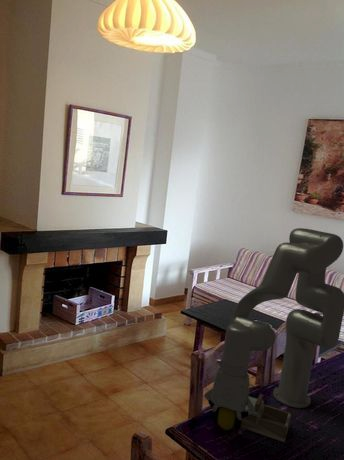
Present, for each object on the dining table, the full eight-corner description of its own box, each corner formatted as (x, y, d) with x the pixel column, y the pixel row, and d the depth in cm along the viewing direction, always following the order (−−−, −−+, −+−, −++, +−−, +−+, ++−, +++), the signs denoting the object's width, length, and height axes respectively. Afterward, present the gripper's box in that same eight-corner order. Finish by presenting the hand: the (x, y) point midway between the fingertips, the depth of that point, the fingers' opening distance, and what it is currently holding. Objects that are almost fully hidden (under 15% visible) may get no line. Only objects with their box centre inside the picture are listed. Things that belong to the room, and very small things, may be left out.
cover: (237, 395, 133) (238, 385, 132) (263, 403, 129) (264, 393, 129) (230, 407, 125) (231, 397, 124) (257, 416, 121) (259, 406, 121)
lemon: (234, 437, 118) (238, 411, 117) (215, 433, 119) (218, 407, 118) (235, 426, 123) (238, 401, 122) (216, 422, 124) (220, 397, 123)
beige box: (237, 409, 133) (239, 396, 132) (288, 426, 127) (291, 412, 126) (230, 423, 125) (232, 409, 124) (284, 442, 119) (287, 427, 118)
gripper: (201, 364, 119) (194, 423, 121) (261, 381, 112) (252, 443, 114) (209, 355, 126) (202, 411, 128) (266, 371, 119) (257, 429, 121)
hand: (225, 425), depth 121 cm, fingers closed on lemon, 5 cm apart
